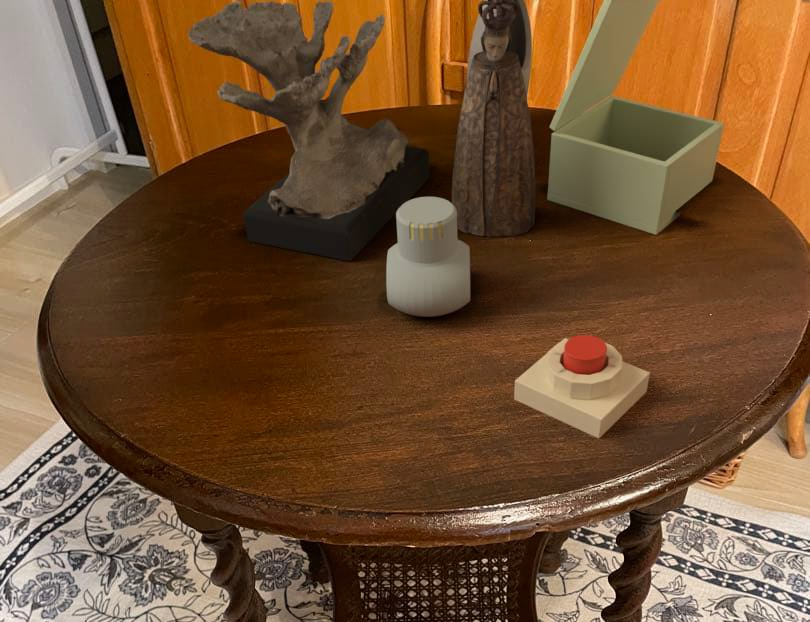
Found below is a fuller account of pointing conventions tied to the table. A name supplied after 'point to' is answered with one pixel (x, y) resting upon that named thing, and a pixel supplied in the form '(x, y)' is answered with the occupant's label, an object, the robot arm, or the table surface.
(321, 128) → the coral
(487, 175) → the statue
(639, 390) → the control block
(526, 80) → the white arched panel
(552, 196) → the chest
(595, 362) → the button
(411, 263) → the air freshener
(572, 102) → the lid
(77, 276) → the table surface
